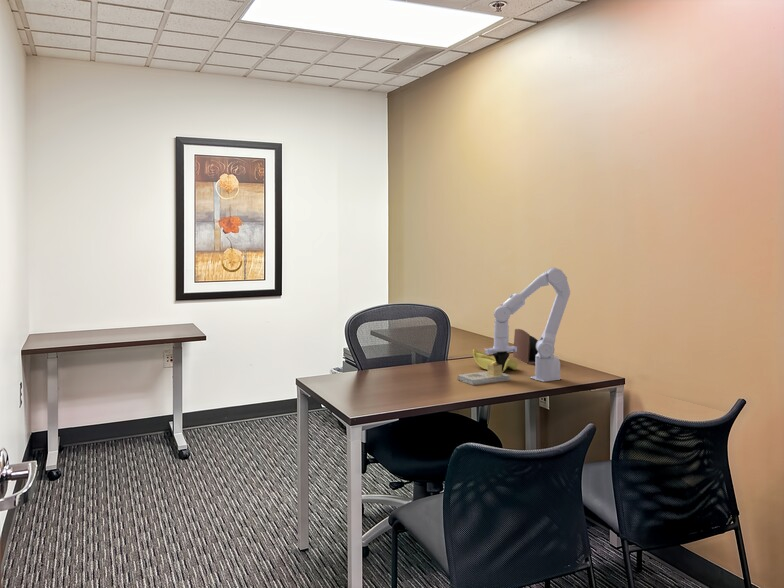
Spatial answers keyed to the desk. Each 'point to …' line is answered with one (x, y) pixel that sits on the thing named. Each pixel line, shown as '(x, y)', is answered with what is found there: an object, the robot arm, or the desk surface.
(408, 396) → the desk surface
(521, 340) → the letter holder
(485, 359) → the yellow curved piece
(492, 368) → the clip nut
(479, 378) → the grey stone slab
